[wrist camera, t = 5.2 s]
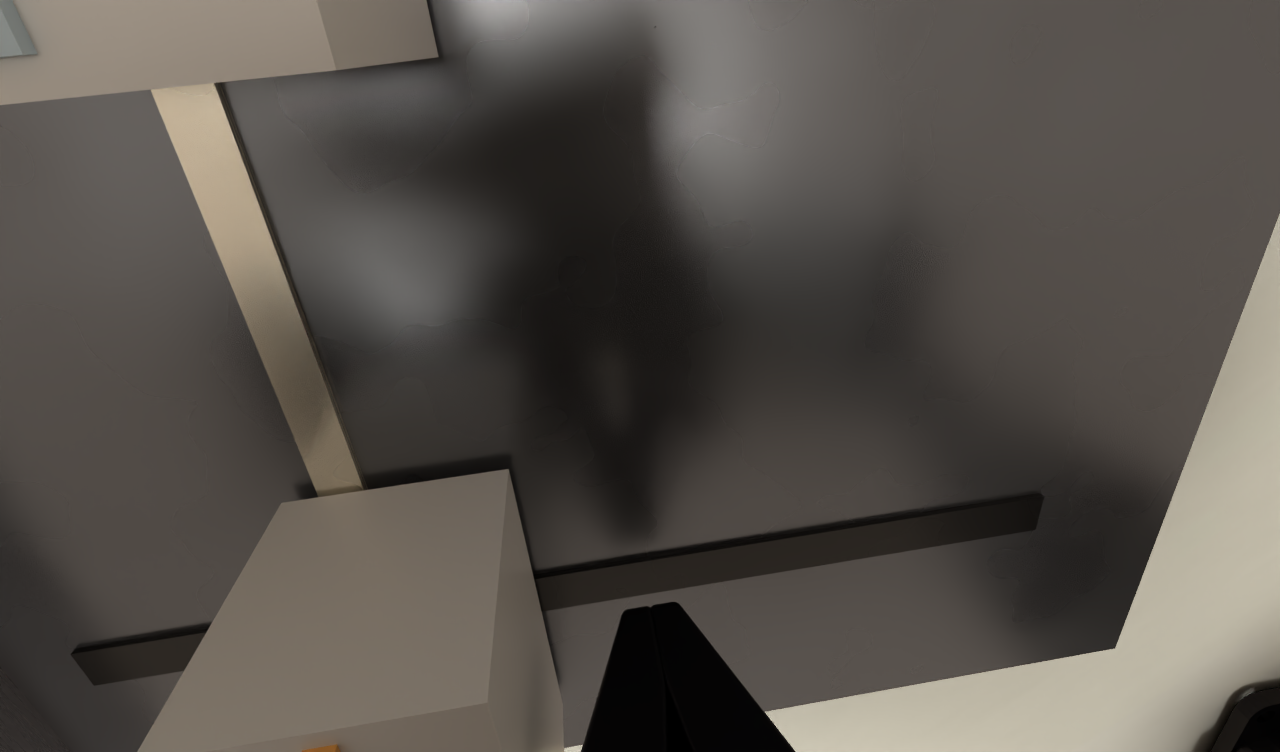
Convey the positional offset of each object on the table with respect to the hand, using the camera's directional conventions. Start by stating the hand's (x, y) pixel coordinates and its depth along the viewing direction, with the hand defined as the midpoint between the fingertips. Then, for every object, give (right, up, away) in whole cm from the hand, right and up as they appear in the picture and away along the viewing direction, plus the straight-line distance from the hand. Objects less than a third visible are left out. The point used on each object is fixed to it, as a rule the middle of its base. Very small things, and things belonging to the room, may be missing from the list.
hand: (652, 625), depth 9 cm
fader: (-3, 0, +1) cm, 3 cm away
